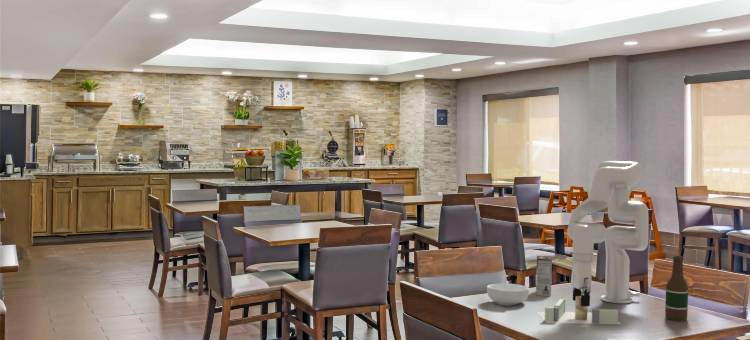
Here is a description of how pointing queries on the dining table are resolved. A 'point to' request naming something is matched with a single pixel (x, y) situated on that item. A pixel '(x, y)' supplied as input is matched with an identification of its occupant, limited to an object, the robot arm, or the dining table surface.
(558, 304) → the gate
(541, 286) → the coffee box
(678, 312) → the beer bottle
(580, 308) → the roller
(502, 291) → the cereal bowl
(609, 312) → the gate frame
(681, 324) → the dining table surface
